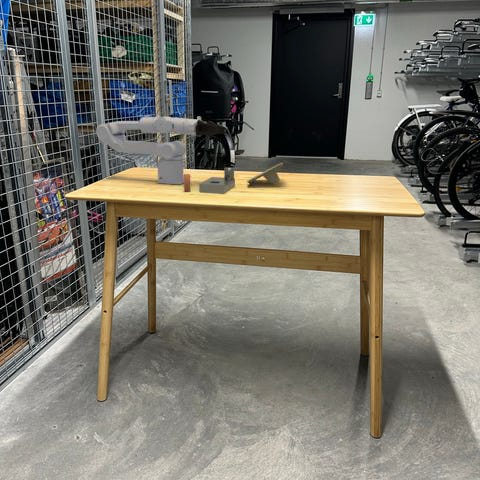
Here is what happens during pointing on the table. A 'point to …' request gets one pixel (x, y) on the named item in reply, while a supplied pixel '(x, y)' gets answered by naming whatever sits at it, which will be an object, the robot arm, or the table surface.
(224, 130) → the robot arm
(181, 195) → the table surface
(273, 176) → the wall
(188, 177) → the cylindrical pin
